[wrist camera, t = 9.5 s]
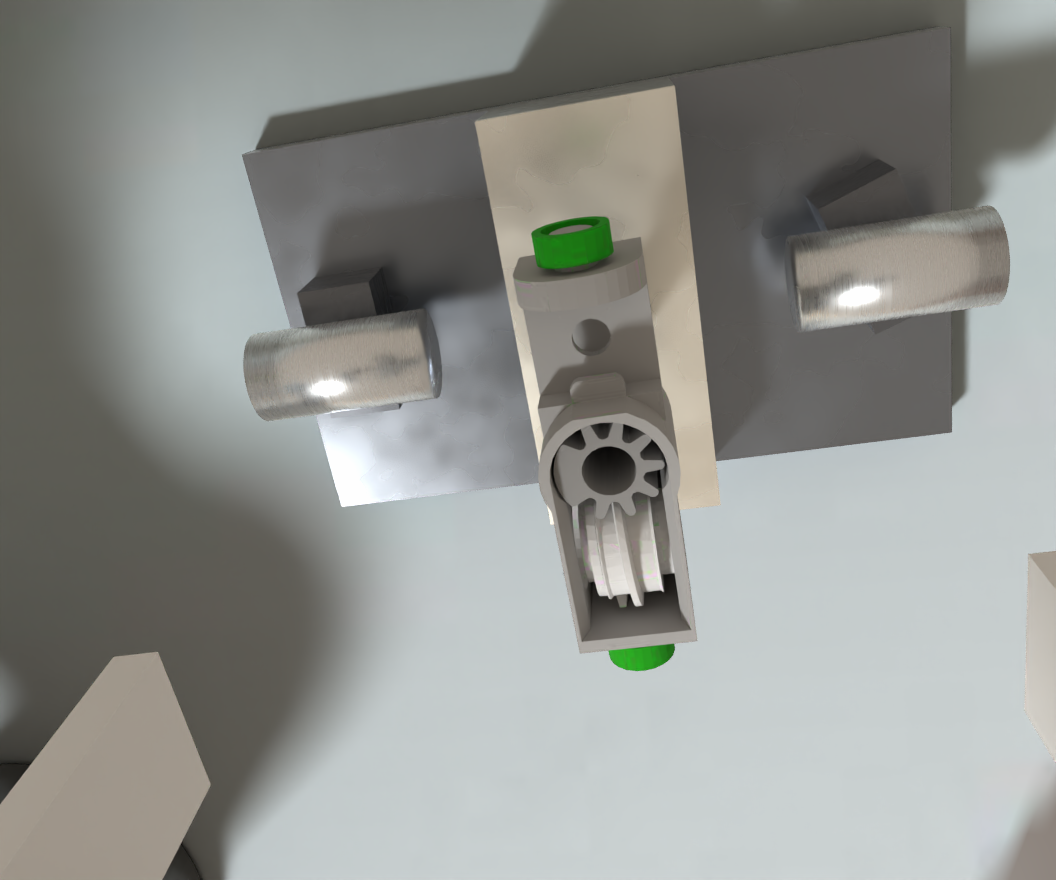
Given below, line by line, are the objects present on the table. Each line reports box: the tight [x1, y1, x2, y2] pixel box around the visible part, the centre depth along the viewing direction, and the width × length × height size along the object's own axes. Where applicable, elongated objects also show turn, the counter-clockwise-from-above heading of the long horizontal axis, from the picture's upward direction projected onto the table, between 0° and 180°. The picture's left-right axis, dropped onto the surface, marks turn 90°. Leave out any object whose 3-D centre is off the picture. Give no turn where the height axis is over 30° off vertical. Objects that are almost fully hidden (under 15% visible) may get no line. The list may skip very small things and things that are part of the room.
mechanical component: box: [513, 216, 697, 671], centre depth 25 cm, size 3×10×10 cm, turn 11°
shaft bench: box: [242, 27, 1010, 525], centre depth 31 cm, size 22×13×6 cm, turn 100°
